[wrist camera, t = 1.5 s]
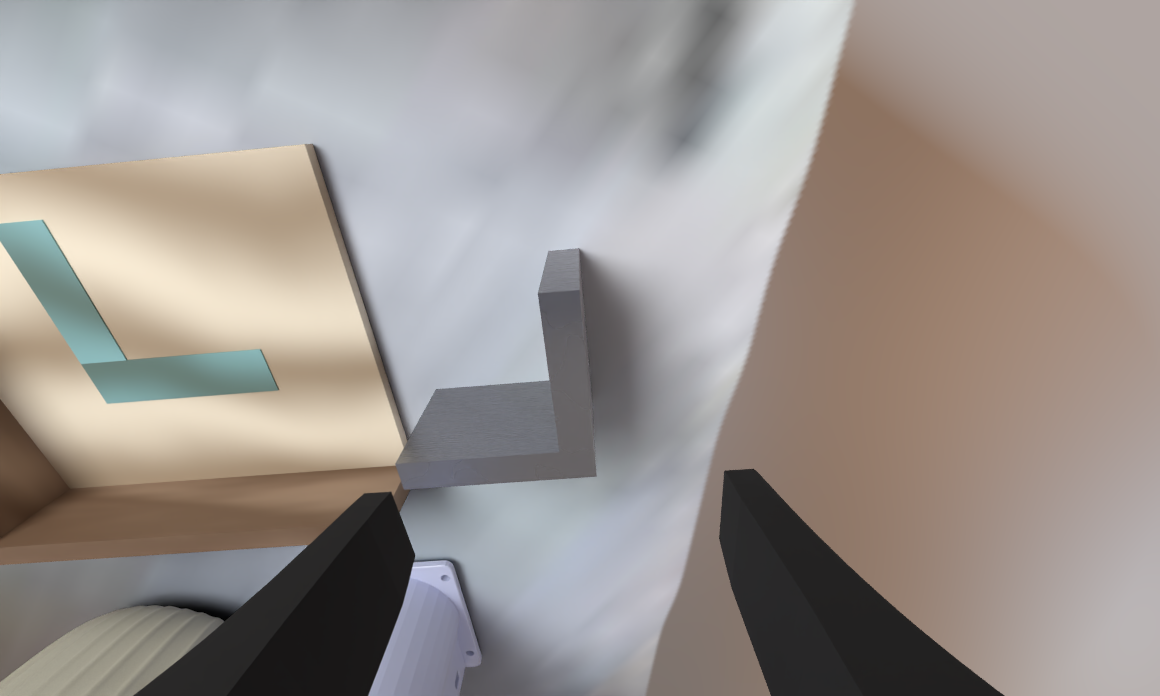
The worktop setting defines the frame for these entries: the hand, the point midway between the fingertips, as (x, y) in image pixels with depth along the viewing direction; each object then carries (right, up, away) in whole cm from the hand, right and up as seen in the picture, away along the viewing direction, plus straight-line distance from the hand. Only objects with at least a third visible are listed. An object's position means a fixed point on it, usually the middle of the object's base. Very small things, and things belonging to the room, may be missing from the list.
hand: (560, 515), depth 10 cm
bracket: (-3, +4, +9) cm, 11 cm away
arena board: (-17, +3, +9) cm, 20 cm away
